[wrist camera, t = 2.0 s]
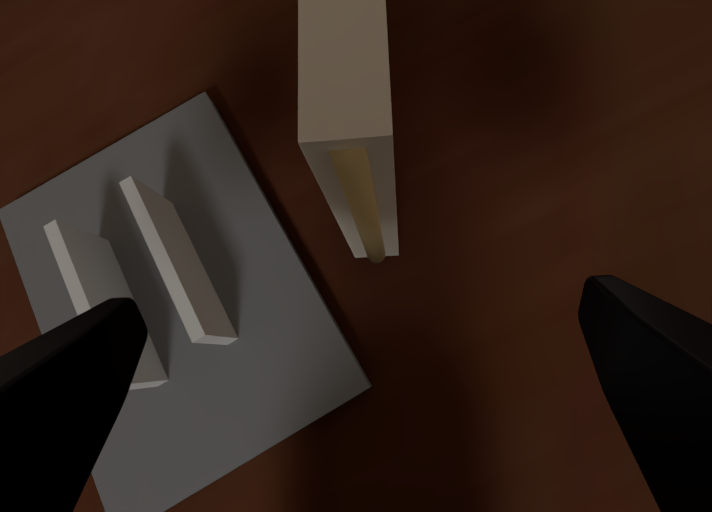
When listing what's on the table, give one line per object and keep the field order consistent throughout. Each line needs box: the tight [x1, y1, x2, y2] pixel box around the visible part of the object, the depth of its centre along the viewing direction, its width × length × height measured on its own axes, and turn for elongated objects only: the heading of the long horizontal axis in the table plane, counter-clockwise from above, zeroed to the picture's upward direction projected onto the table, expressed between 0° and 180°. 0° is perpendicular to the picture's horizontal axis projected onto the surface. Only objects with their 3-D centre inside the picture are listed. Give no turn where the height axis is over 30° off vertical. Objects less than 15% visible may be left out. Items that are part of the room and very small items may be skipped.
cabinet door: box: [298, 0, 399, 263], centre depth 16 cm, size 6×2×12 cm, turn 2°
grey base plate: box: [0, 92, 372, 512], centre depth 20 cm, size 18×13×4 cm
